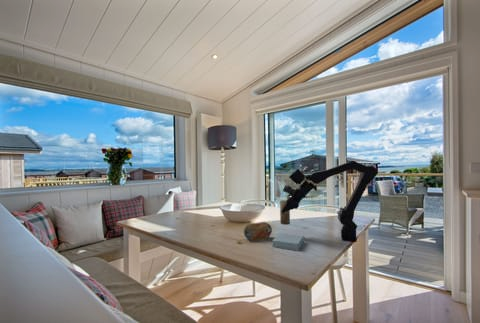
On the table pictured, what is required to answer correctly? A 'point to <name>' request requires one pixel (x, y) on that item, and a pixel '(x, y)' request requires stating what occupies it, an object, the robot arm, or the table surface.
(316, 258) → the table surface
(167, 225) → the table surface
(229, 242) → the table surface
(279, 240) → the slate plinth
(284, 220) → the walnut column
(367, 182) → the robot arm
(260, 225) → the tin
